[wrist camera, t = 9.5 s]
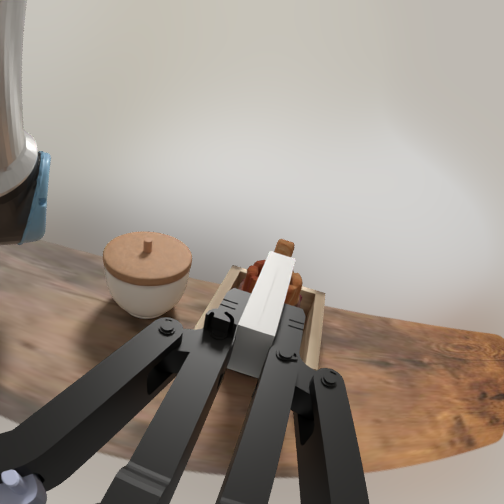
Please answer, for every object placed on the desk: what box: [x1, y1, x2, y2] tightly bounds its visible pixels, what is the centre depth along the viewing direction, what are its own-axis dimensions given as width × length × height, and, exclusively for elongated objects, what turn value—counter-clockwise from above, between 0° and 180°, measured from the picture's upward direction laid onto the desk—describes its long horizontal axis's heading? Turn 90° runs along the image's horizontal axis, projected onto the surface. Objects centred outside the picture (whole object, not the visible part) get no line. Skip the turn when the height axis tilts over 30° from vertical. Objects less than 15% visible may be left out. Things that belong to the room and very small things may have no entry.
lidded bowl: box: [103, 232, 192, 319], centre depth 45 cm, size 13×13×11 cm
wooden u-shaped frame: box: [194, 265, 325, 371], centre depth 44 cm, size 15×16×6 cm
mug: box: [238, 239, 302, 308], centre depth 41 cm, size 15×8×15 cm, turn 165°
